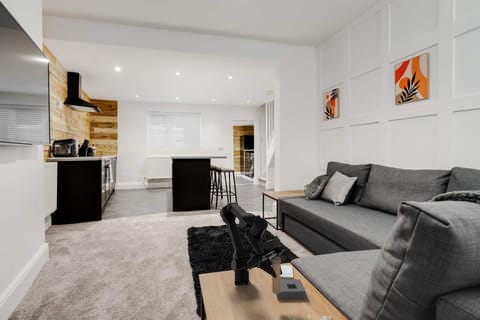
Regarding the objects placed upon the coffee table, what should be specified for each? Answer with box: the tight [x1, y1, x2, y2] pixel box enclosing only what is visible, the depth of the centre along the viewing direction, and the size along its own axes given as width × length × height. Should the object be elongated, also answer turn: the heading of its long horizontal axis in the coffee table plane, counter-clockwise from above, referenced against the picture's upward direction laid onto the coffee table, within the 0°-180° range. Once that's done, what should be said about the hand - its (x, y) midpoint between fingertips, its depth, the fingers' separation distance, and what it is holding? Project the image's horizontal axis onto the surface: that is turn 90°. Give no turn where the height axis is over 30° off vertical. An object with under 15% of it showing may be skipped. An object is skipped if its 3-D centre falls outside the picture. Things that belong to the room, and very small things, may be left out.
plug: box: [271, 256, 282, 295], centre depth 95 cm, size 4×4×13 cm
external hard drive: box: [280, 264, 295, 280], centre depth 124 cm, size 2×8×12 cm
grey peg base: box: [275, 278, 307, 300], centre depth 106 cm, size 12×10×3 cm
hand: (278, 276), depth 94 cm, fingers closed on plug, 3 cm apart
